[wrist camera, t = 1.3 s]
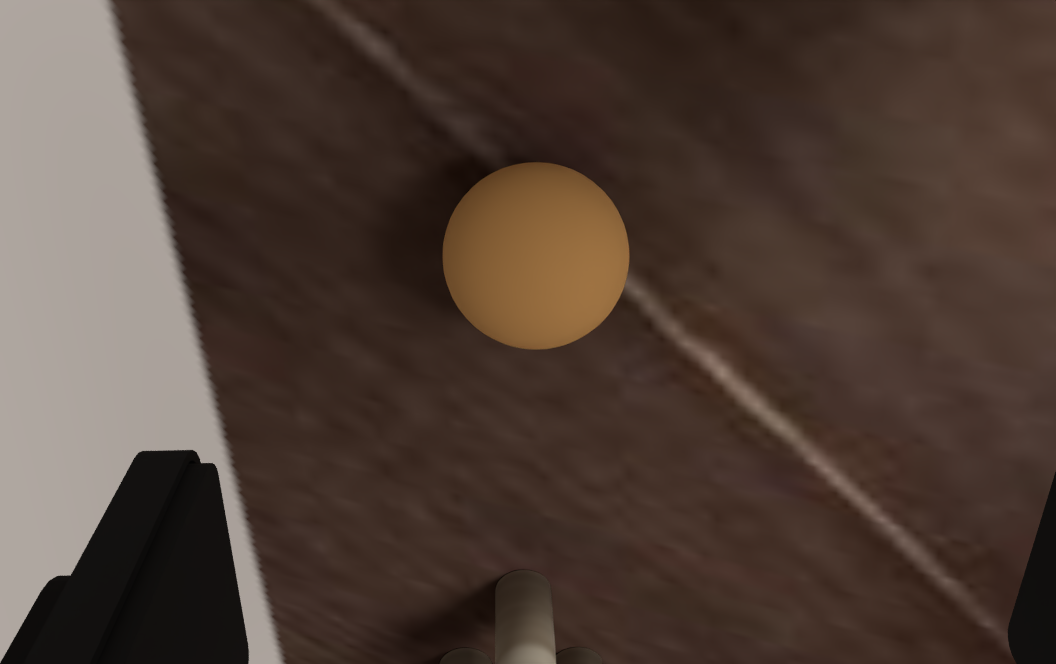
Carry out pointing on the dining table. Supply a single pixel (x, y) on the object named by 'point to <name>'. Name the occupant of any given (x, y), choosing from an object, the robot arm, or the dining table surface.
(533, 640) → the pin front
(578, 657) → the pin
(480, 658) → the pin
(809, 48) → the dining table surface
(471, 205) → the ball
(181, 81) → the dining table surface
